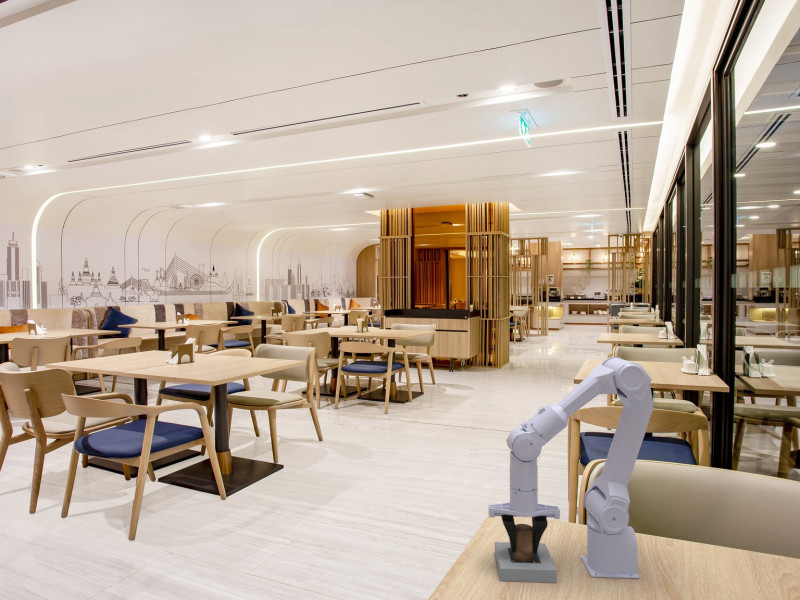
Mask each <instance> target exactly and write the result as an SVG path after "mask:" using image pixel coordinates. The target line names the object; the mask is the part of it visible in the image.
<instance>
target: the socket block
mask: <svg viewBox="0 0 800 600" xmlns="http://www.w3.org/2000/svg"><path fill="white" fill-rule="evenodd" d="M494 555H495V561H496V565H497V570H498V574H499V580H500V581H501V582H519V583H520V582H522V583H523V582H524V583H525V582H526V583H545V584H546V583H553V584H556V583H557V568H556V565H555V564H554V561H553V559H552V556H551V554H550V551H549V549H548V546H547V544H546V543H544V542H543V543H540V542H539V546H538V551H537V553H534V561H535V562H534V563H514V553H512V551H511V546H510V541H506V542H505V541H494ZM512 560H513V562H512Z"/></svg>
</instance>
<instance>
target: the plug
mask: <svg viewBox="0 0 800 600" xmlns="http://www.w3.org/2000/svg"><path fill="white" fill-rule="evenodd" d="M534 561H535V560H534V552H533V527H532V525H529V524H526V523H517V524H515V553H514V560H513V562H514V563H535V562H534Z"/></svg>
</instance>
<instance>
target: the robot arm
mask: <svg viewBox="0 0 800 600" xmlns="http://www.w3.org/2000/svg"><path fill="white" fill-rule="evenodd" d="M646 370H647V369H645V368H644V367H643V365H642V364H639V363H637V362H634V361H629V360H625V359H623V358H622V357H618V356H611V357H608V358H606V359H605V360H603V362H602V363H601V364H598V365H597V366H595V367H594V368H593V369H592V370H591V372H590V373H589V374H588V375H587V376H586V377H585V378H584V379H583V380H581V382H579V383H578V384H577V385H576V386H575V387H574V388H573V389H572V390H571V391H570V392H569V393H568V394H566V396H564V397H563V398H562V400H560V401H559V402H558V403H557V404H552V403H551V404H550V403H549V404H546V405H545V406H544V405H541V406H539V407H538V408H537V410H538V412H537V413H535V415H533V416H532V417H530V419H528V420H527V421H526V422H525V421H523V422H522V423H520V426H519V427H515V428H513V429H512V430H510V432H509V434H508V437H507V438H506V445H507V447H508V448H509V449H510V452H509V455H510V456H509V461H510V462H509V502H505V503H498V504H488V506H487V507H488V517H489V518H495V517H501V520H502V524H503V526H504V528H505V531H506V533H507V536H508V540H509V542H510V546H511V551H512V553H515V525H516V523H515V517H516V518H517V517H519V518H531V523H532V524H531V526H532V527H533V552H534V553H537V551H538V546H539V543H540V542H541V539H542V536H543V535H544V533H545V531H546V530H547V528H548V519H547V518H549V519H550V518H554V520H561V509H560V507H559V506H558V505H549V504H548V505H547V504H542V503H539V501H538V500H539V497H538V496H539V491H538V490H539V487H538V485H539V484H538V483H539V482H538V480H539V479H538V477H539V475H538V474H539V473H538V458H539V457H540V455H541V453H542V449H543V446H545V445H547V444H548V443H549V442H550V441H551V440H552V439H553V438H555V437H557V435H558V434H559V433H561V432H562V431H563V430H564V429H565V428H567V427H568V423H569V417H571V416H572V415H574V413H576V412H577V411H579V410H580V409H582V407H584V406H585V405H587V404H588V403H590V402H591V401H592V400H593V399H595V398H596V397H597V396H599V395H615V394H616V395H617V396H618V399H619V401H620V402H621V403H622V406H623V407H622V411H621V414H620V417H619V419H618V423H617V425H616V429H615V432H614V435H613V437H612V442H611V443H610V447H609V450H608V453H607V455H606V459H605V462H604V465H603V468H602V471H601V474H600V475H599V476H598V477H596V478H595V479H594V480H593V481H592V484H591V487H590V488H588V489H587V490H586V492H585V493H584V495H583V502H582V503H583V507H584V508H585V510H586V511H587V512H588V518H587V520H586V540H587V541H586V553H587V554H586V555H585V554H584V555H582V554H581V557H580V558H581V560H582V563H584V564H583V565H584V566H585V568H586V569H587V571H588V573H589V575H590V577H591V578H605V579H606V578H608V579H609V578H610V579H632V580H633V579H637V580H638V579H639V578H640V575H639V574H638V571H639V568H638V566H639V565H638V563H639V562H638V560H639V556H638V555H639V553H638V550H639V548H638V547H639V545H638V540H637V534H636V532H635V530H634V528H633V527H632V526H629V521H630V514H629V507H630V504H631V499H630V494H629V492H628V491H629V490H628V485H629V483H630V479H631V476H632V474H633V470H634V468H635V464H636V461H637V460H638V459H637V458H638V455H639V453H640V449H641V447H642V444H643V441H644V437H645V434H646V431H647V429H648V426H649V422H650V419H651V416H652V414H653V411H654V400H653V395H652V389H651V383H652V377H651V376H650V375H649V373H648V371H646Z"/></svg>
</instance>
